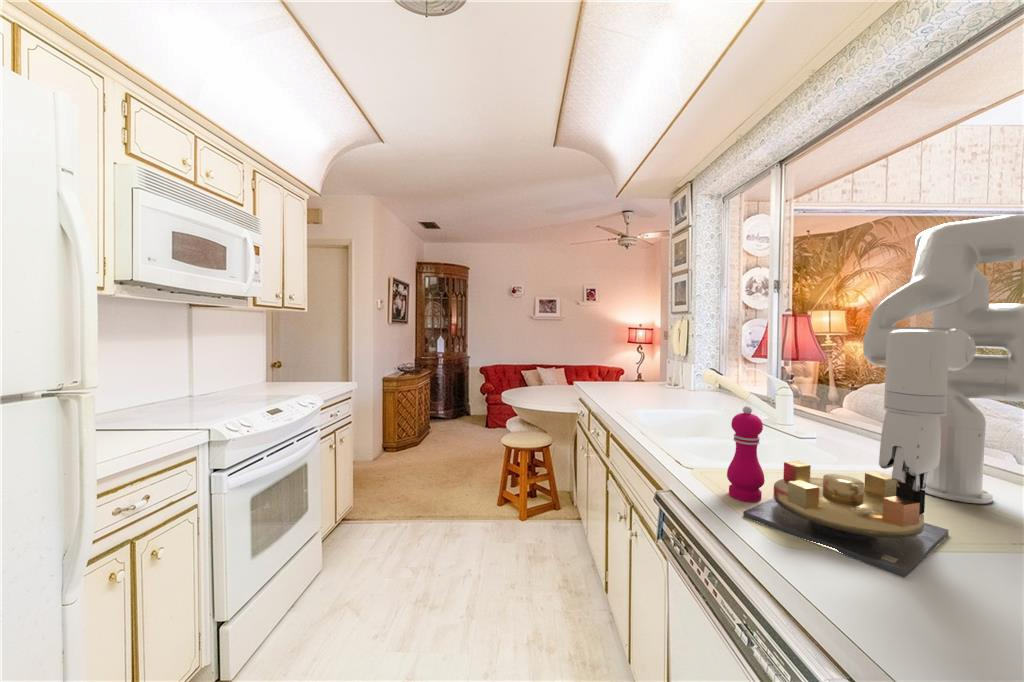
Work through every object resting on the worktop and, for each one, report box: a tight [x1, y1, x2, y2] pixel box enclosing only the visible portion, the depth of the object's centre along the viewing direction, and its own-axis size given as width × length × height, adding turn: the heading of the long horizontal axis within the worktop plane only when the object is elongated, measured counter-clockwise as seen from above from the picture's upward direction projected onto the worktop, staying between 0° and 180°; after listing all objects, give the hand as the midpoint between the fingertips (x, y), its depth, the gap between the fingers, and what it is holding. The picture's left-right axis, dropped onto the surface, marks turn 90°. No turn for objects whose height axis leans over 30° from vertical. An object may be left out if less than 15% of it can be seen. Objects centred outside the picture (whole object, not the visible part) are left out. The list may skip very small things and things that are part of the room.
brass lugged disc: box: [772, 460, 925, 538], centre depth 80 cm, size 22×22×6 cm
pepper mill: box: [726, 405, 765, 503], centre depth 92 cm, size 7×7×20 cm
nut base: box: [742, 497, 949, 579], centre depth 80 cm, size 24×24×3 cm
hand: (909, 511), depth 71 cm, fingers closed
